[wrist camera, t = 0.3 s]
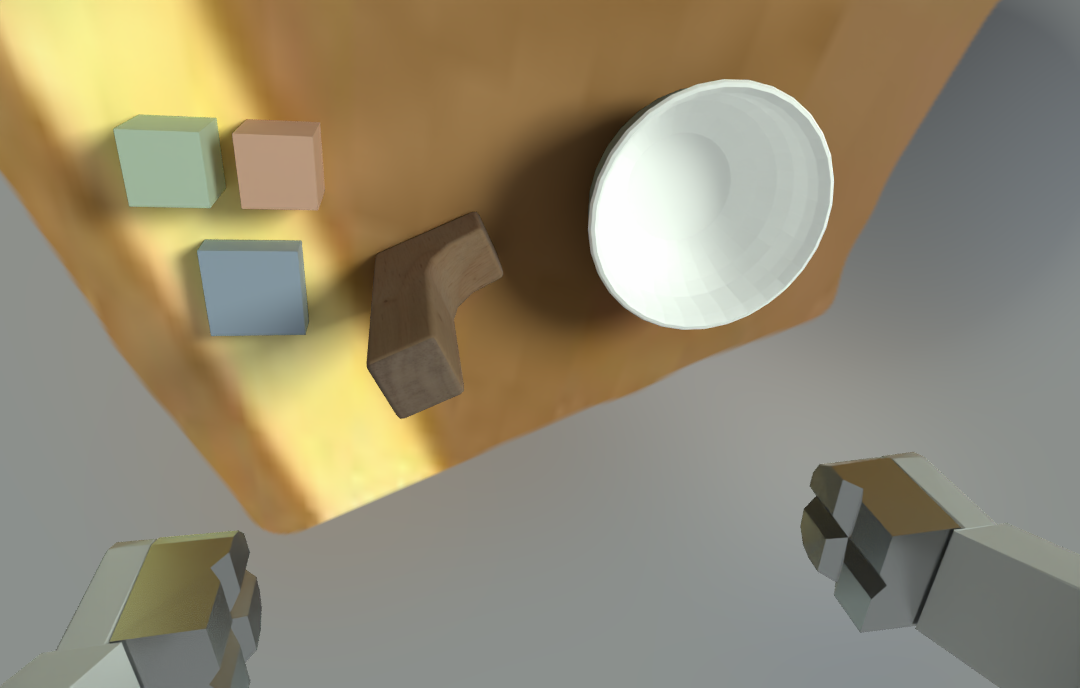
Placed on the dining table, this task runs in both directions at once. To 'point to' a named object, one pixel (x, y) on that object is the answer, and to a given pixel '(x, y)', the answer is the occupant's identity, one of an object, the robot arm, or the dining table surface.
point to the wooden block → (425, 311)
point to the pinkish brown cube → (279, 164)
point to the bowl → (709, 203)
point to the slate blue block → (254, 287)
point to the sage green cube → (171, 161)
